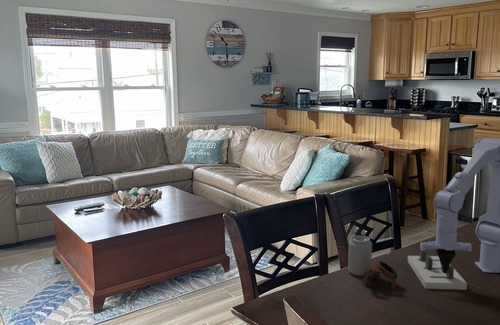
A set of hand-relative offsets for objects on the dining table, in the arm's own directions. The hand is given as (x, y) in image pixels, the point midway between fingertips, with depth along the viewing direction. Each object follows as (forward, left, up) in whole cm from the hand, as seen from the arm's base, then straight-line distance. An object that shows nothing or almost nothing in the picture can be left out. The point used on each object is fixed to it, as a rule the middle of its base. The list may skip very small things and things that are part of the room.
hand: (444, 272), depth 137 cm
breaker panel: (+1, -7, -4) cm, 8 cm away
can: (+25, -7, -4) cm, 26 cm away
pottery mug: (+20, +3, -4) cm, 21 cm away
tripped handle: (-2, 0, -1) cm, 2 cm away
